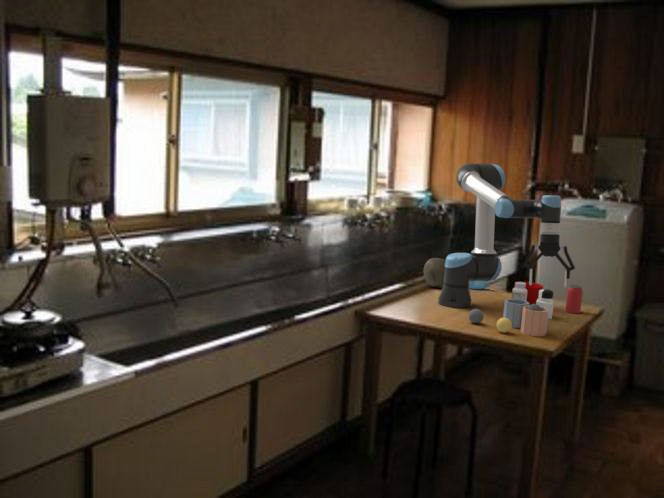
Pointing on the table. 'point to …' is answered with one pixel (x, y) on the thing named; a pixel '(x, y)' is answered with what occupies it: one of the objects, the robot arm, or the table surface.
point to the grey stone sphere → (435, 272)
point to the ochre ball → (504, 325)
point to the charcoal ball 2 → (534, 307)
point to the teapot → (478, 284)
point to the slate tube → (514, 311)
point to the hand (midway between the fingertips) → (547, 286)
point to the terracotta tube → (534, 322)
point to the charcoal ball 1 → (476, 316)
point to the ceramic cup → (533, 292)
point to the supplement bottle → (519, 291)
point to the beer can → (574, 299)
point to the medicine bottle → (546, 301)
